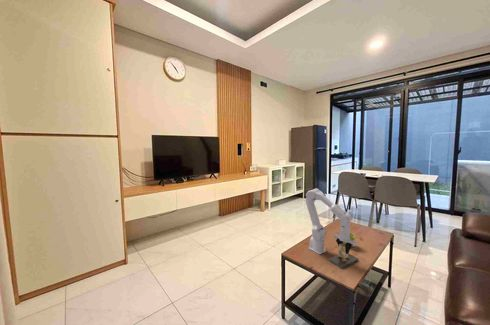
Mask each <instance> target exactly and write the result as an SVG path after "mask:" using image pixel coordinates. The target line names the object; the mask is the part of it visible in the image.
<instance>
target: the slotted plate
mask: <svg viewBox="0 0 490 325" xmlns="http://www.w3.org/2000/svg"><path fill="white" fill-rule="evenodd" d="M341 259H343V258H342V257H340V256H339V253H338V254H336V255H334V256H332V257H329V258H328V262H329V263H331V264H333V265H335V266H337V267H338V268H339V269H342V270H344V269H345V268H347V267H349V266H351V265H353V264H355V263H357V262H359V257H356V256H354V255H352V254H351V253H348V257H347V258H345V259H344V260H345V261H344V260H341Z"/></svg>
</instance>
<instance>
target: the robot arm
mask: <svg viewBox="0 0 490 325" xmlns="http://www.w3.org/2000/svg"><path fill="white" fill-rule="evenodd" d="M316 201H321V202H322V203H323V204H325V205H326V206H327V207H329V210H330V212H331V213H332V214H334V215H335V216H336V217H337V218H338V221H339V223H340V225H339V234H337V233H334V234H333V238H336V239H335V242H336V243H337V246H338V248H339V244H341V243H343V241H344V242H347V243H346V244H345V247H346V254H350V251H351V247H352V248H353V247H356V246H357V242H356V241H355V240H354V241H353V240H351V239H350V233H351V221H352V220H353V216H352V214H350V212H348V211H345V210H344V209H343V208H342V207H341V206H340V204H335V203H333V202H332V200H330V199H329V198H328V197H327V196H326V195H325V194H324V192H323V191H322V190H320V189H319V188H314V189H311V190H308V191H307V192H306V193H305V204H306V207H307V211H308V213H309V218H310V220H311V221H310V222H311V224H312V227H311V237H310V239H309V247H308V249H309V250H311V251H312V252H314V253H316V254H318V255H321V254H323V253H326V252H327V249H325V236H327V230H326V229H325V228H324V226H323V224H321V221H320V217H319V214H318V210H317V208H316V205H315V202H316ZM352 245H353V246H352Z"/></svg>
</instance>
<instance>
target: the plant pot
mask: <svg viewBox="0 0 490 325" xmlns="http://www.w3.org/2000/svg"><path fill="white" fill-rule="evenodd" d="M355 238H356V235H355V233H351V232H350V239H351V240H353V241H354V242H355ZM343 243H345V244H346V243H347V242H344V241H343ZM353 247H354V246H353V245H352V247H351V248H353ZM351 248H350V249H351Z"/></svg>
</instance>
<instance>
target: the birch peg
mask: <svg viewBox="0 0 490 325" xmlns="http://www.w3.org/2000/svg"><path fill="white" fill-rule="evenodd" d="M338 254H339V256H340V257H342V258H341V259H343V260H346V259H345V258H347V257H348V254H349V253H348V254H346V247H345V243H341V244H339V247H338Z"/></svg>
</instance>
